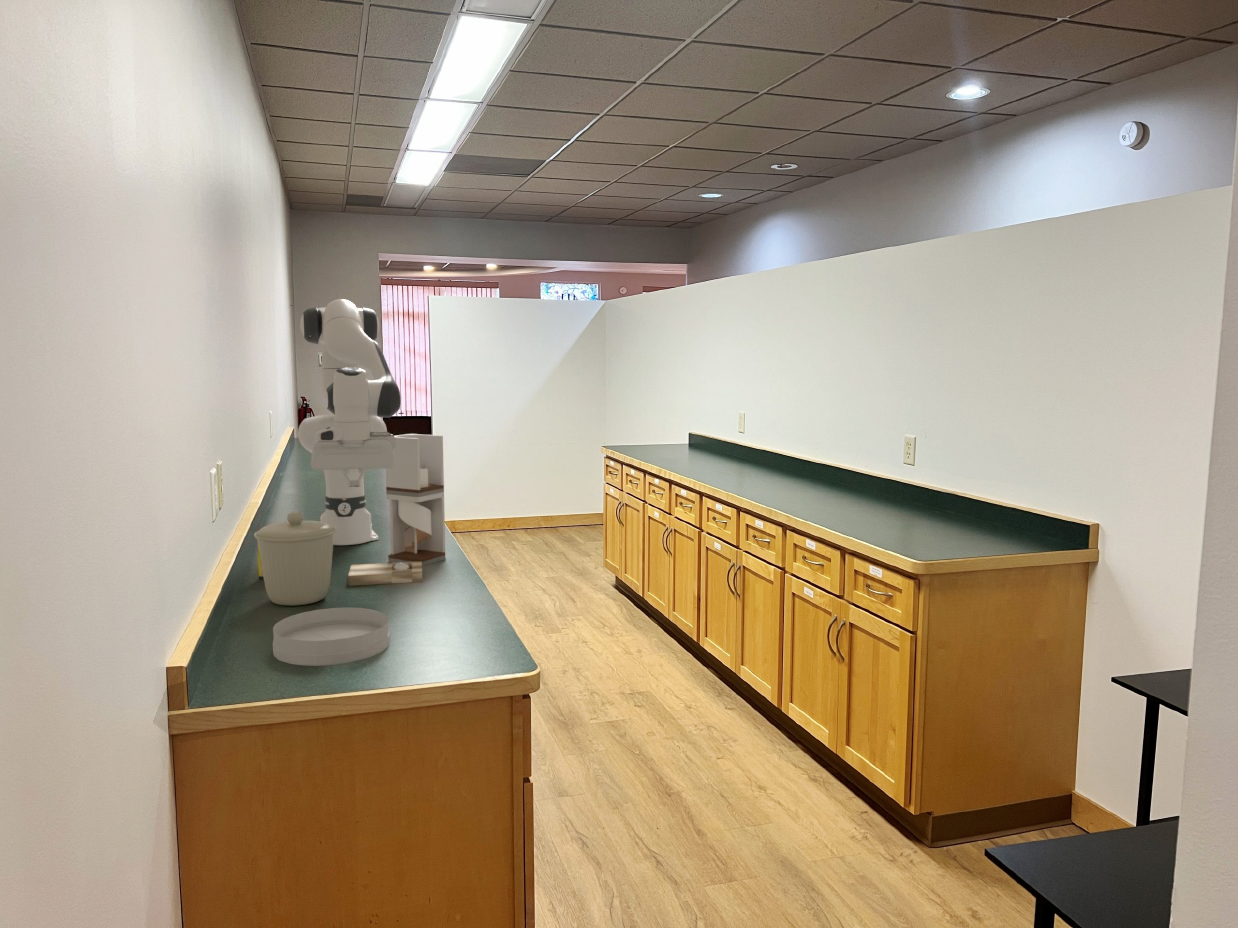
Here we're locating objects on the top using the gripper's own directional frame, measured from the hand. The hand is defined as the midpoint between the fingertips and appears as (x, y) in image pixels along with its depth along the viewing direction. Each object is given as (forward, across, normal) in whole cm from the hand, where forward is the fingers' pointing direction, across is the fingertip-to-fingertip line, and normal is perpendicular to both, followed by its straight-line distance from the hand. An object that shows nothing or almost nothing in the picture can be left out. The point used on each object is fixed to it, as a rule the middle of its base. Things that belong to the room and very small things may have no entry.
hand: (354, 486), depth 223 cm
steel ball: (+22, -11, +1) cm, 25 cm away
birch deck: (+24, -7, +1) cm, 25 cm away
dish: (+24, +2, +54) cm, 59 cm away
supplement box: (+24, +21, -6) cm, 33 cm away
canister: (+24, +12, +18) cm, 32 cm away
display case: (+24, -15, -17) cm, 33 cm away
